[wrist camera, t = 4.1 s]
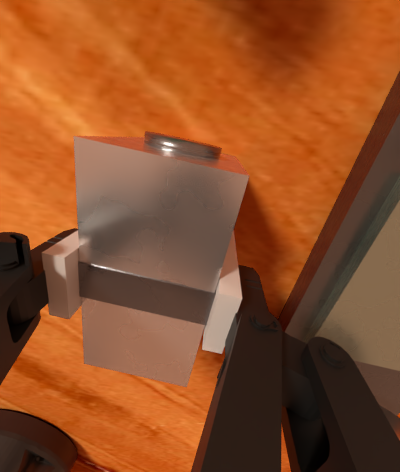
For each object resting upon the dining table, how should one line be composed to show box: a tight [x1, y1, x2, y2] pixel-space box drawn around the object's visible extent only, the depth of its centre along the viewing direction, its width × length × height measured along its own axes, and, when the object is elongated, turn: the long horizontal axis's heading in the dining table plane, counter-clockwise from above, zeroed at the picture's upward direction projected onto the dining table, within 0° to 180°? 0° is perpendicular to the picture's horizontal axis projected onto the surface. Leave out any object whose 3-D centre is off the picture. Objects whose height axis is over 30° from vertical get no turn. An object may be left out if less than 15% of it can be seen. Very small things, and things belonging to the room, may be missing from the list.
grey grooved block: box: [74, 131, 249, 387], centre depth 11 cm, size 11×5×7 cm, turn 168°
